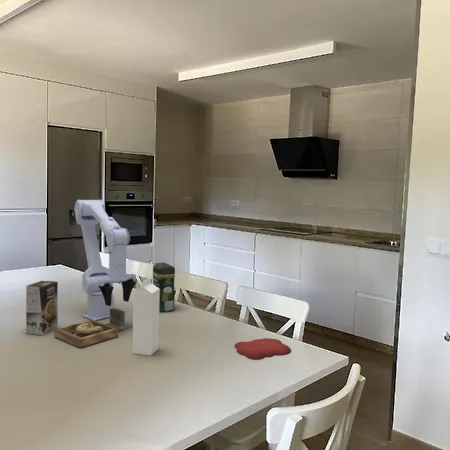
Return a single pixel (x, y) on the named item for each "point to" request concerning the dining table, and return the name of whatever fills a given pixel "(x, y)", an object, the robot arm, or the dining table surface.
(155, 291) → the milk
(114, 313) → the pull frame
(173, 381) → the dining table surface
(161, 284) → the coffee jar
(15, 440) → the dining table surface
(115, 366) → the dining table surface
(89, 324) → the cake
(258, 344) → the red lobed slab
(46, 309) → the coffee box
